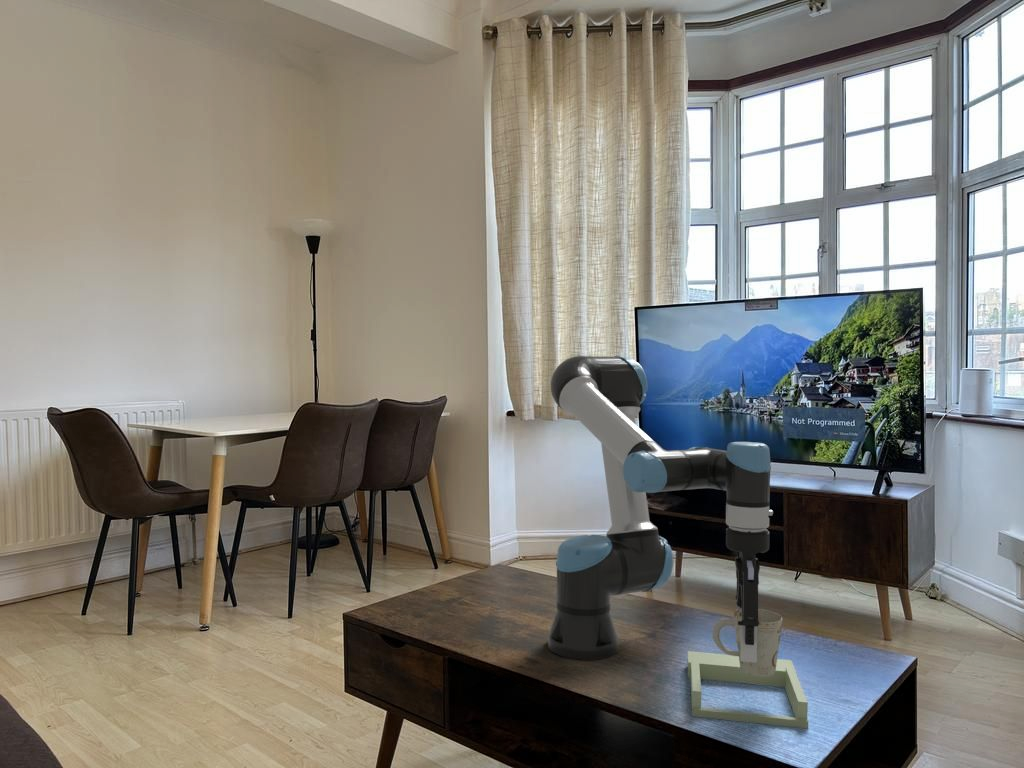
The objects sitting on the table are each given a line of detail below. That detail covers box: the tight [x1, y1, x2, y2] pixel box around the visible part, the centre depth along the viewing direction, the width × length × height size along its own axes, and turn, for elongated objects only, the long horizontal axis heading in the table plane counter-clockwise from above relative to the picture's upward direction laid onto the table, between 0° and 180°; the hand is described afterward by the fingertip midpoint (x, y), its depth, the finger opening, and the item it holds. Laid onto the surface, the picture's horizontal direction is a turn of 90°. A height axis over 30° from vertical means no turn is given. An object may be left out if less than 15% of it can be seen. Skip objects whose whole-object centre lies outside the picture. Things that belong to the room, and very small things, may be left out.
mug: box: [712, 608, 783, 677], centre depth 136 cm, size 8×13×10 cm, turn 58°
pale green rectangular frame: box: [687, 650, 809, 729], centre depth 138 cm, size 20×22×4 cm
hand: (746, 651), depth 135 cm, fingers closed on mug, 8 cm apart
